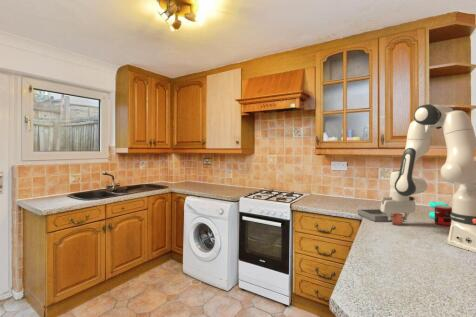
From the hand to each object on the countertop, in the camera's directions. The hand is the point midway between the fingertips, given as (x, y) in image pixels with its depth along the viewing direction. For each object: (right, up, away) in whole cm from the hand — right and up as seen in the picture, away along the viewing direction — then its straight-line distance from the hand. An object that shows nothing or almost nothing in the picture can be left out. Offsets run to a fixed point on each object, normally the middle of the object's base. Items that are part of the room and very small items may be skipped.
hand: (397, 220), depth 151 cm
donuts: (+37, -3, +15) cm, 40 cm away
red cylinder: (0, -2, 0) cm, 2 cm away
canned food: (+27, -3, 0) cm, 27 cm away
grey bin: (-4, -2, +14) cm, 14 cm away
